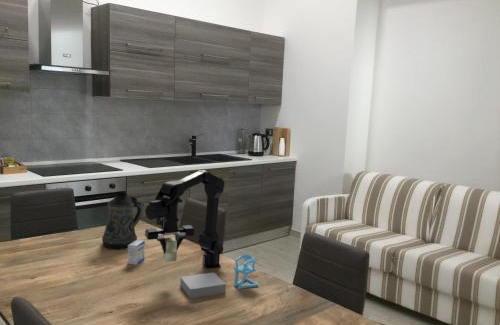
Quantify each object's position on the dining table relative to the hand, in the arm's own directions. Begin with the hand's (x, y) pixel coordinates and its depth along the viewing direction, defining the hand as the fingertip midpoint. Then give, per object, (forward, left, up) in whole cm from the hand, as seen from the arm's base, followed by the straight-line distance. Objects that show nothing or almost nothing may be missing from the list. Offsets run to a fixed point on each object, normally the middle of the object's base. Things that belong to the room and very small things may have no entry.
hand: (169, 253), depth 174 cm
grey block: (-10, +10, -13) cm, 19 cm away
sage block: (0, 0, -3) cm, 2 cm away
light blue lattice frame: (-27, +12, -12) cm, 32 cm away
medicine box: (+8, -27, -12) cm, 30 cm away
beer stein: (+10, -53, -12) cm, 55 cm away
